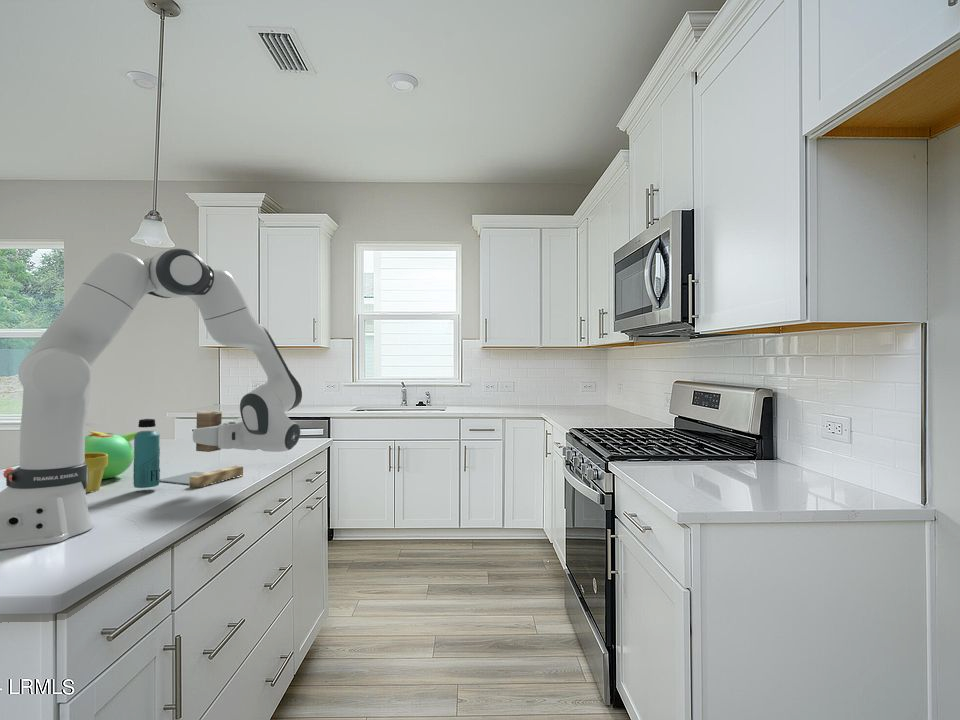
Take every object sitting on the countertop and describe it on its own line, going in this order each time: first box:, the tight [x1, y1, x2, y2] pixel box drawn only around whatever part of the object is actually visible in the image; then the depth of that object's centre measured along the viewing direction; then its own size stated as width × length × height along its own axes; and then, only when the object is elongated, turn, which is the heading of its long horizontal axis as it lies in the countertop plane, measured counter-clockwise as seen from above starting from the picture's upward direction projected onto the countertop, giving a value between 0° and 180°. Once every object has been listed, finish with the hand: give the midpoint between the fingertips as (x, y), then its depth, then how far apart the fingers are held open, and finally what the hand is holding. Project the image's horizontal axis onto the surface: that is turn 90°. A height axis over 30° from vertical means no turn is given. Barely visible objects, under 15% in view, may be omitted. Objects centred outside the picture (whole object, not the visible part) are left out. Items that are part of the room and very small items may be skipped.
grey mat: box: [159, 471, 205, 486], centre depth 174 cm, size 14×14×1 cm
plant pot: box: [85, 453, 108, 493], centre depth 156 cm, size 10×10×10 cm
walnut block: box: [195, 410, 223, 453], centre depth 161 cm, size 4×4×11 cm
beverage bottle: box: [132, 418, 161, 489], centre depth 157 cm, size 6×7×20 cm
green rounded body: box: [85, 430, 139, 480], centre depth 173 cm, size 18×17×15 cm
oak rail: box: [188, 465, 244, 489], centre depth 171 cm, size 18×3×3 cm, turn 161°
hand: (206, 430), depth 161 cm, fingers closed on walnut block, 4 cm apart
